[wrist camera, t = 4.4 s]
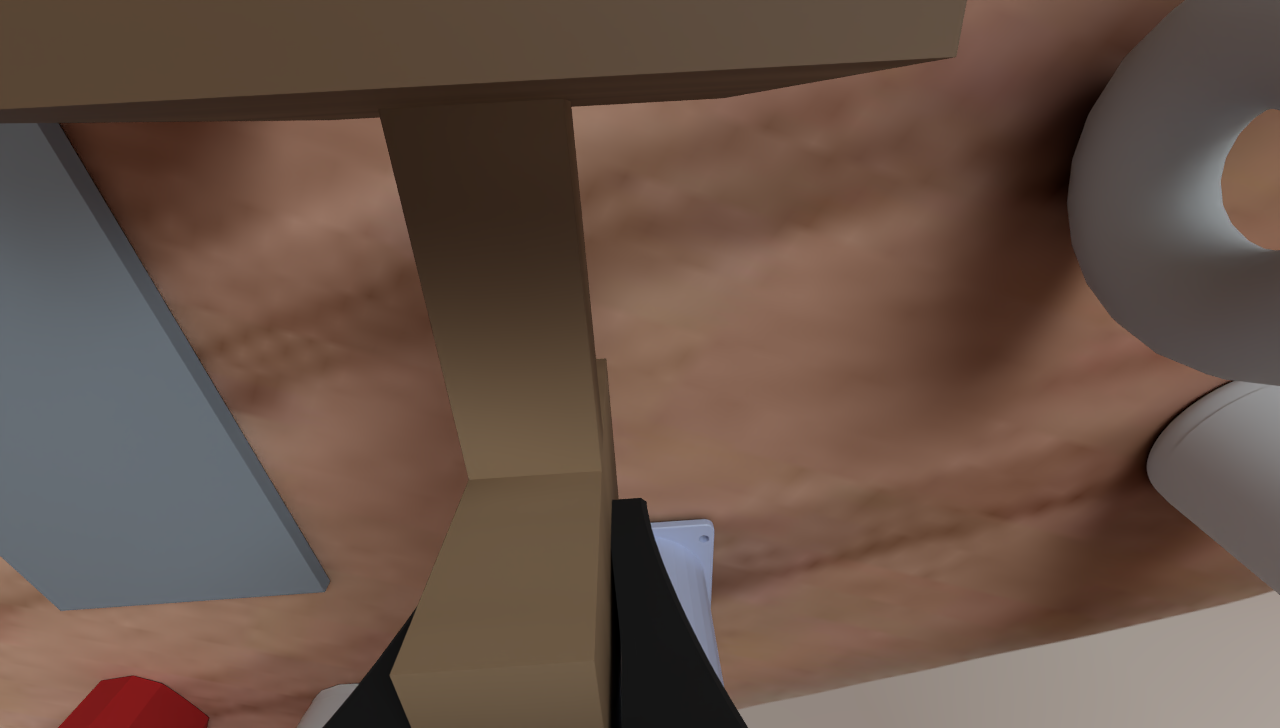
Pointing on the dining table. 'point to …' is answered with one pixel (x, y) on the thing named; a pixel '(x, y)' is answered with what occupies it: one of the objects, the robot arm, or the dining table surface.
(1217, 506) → the pill bottle
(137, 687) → the french fries
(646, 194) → the dining table surface
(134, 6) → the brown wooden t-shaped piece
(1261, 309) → the donut
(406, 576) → the dining table surface
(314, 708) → the foam cup
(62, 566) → the mat
